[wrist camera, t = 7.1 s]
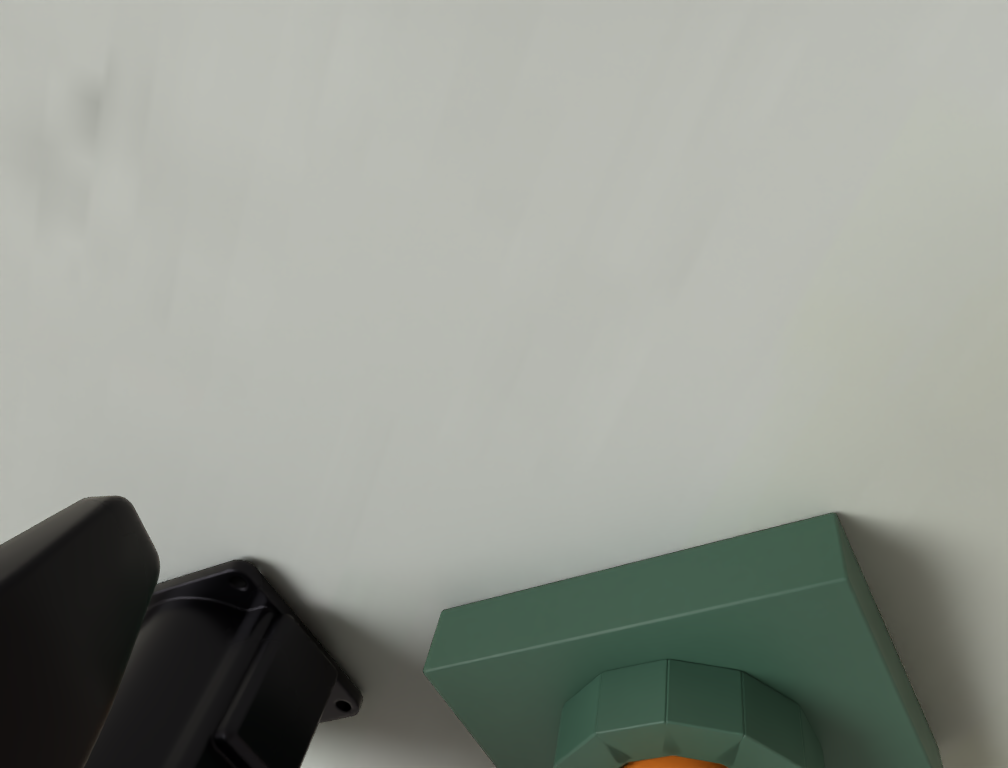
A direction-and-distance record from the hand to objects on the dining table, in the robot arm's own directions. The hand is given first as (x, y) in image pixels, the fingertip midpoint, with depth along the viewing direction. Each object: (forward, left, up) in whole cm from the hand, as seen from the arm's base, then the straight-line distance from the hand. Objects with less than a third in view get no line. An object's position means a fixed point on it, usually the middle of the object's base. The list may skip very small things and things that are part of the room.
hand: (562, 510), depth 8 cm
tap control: (-5, -14, -11) cm, 19 cm away
